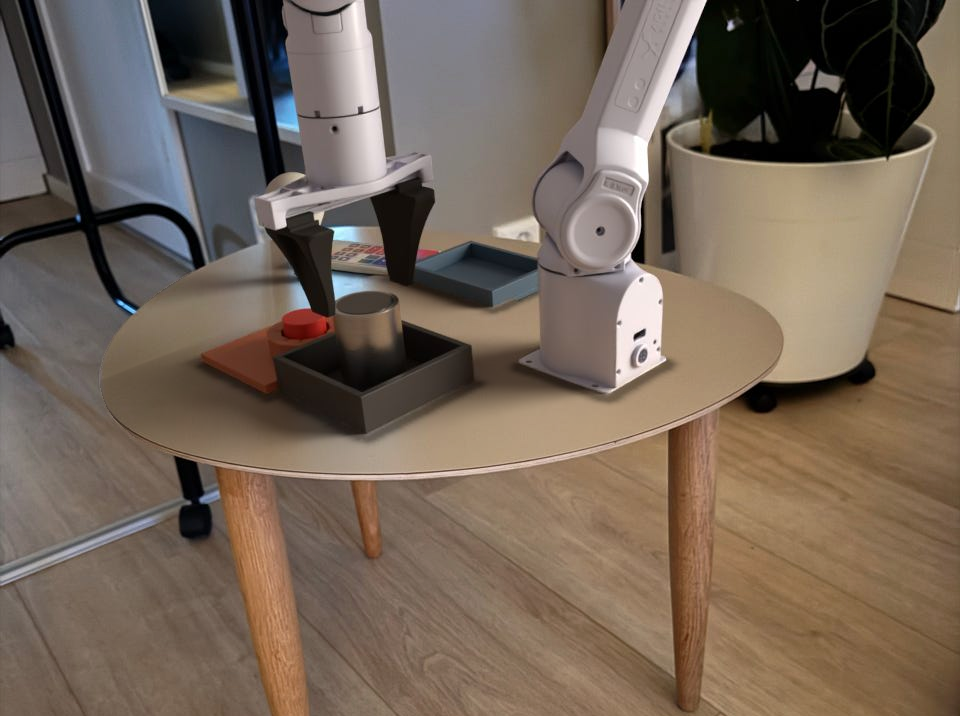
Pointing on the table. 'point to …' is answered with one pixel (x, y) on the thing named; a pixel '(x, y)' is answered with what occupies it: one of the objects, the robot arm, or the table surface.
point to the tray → (479, 273)
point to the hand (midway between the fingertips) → (363, 297)
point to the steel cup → (369, 338)
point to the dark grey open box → (428, 377)
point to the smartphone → (364, 257)
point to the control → (256, 355)
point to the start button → (303, 324)
